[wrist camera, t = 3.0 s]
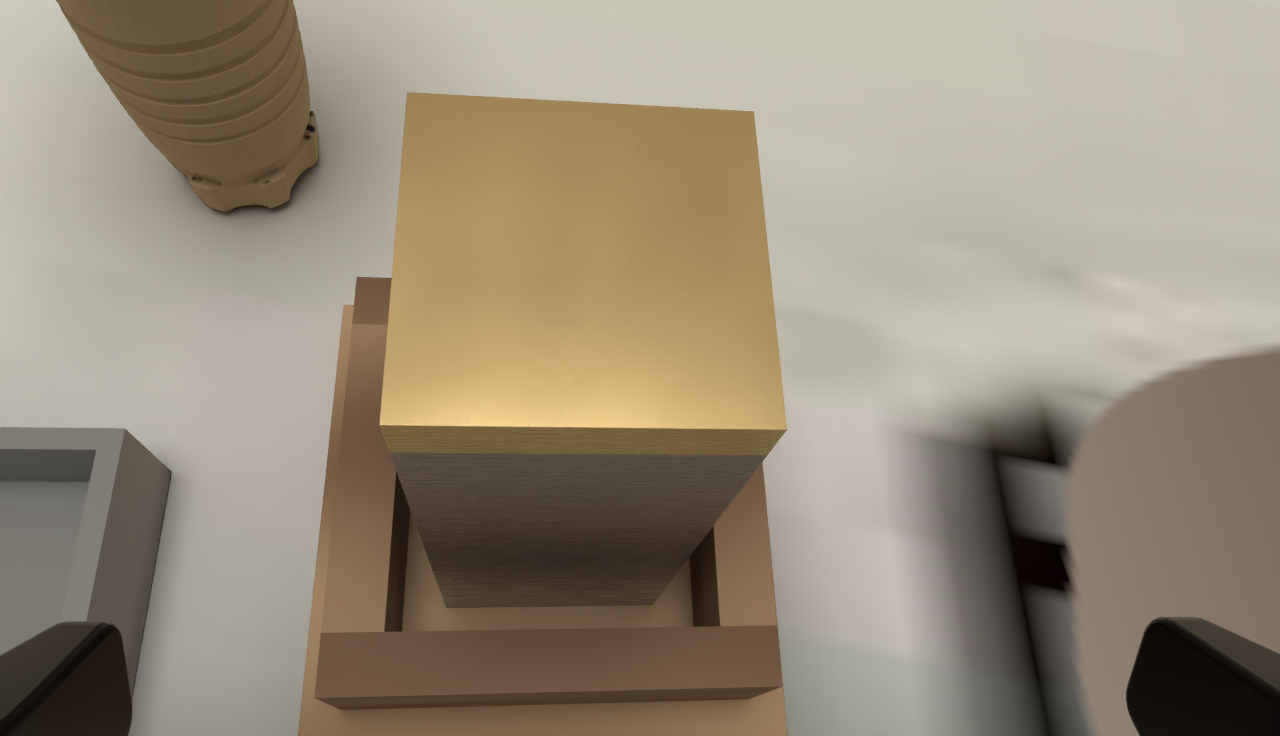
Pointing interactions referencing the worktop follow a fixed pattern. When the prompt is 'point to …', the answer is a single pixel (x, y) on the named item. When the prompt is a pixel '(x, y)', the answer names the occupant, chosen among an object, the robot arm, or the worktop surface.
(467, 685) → the holder
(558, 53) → the worktop surface
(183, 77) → the handle
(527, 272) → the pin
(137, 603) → the tray
